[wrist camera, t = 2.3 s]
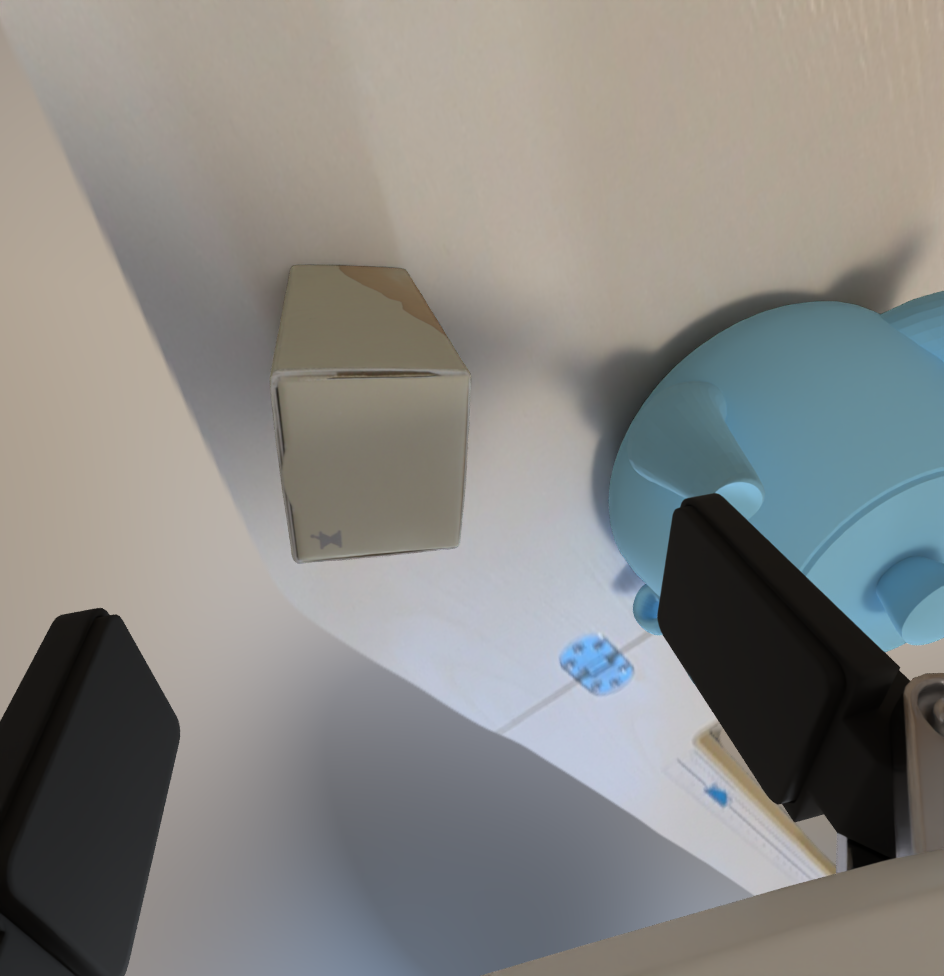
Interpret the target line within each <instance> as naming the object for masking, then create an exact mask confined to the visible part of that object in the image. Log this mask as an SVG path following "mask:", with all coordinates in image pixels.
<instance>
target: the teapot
mask: <svg viewBox="0 0 944 976" xmlns="http://www.w3.org/2000/svg"><path fill="white" fill-rule="evenodd" d="M712 493H717V494H720V495H721V496H723V497H724V498H725V499H726V500H727V501H728V502H729V503H730V504H731V505H732V506H733V507H734V508H735V509H736V510H737V511H738V512H739V513H741V514H742V515H743V516H744V517H745V518H746V519H747V520H748V521H749V522H750V523H751V524H752V525H753V526H754V527H755V528H756V529H757V530H758V531H759V532H760V533H761V534H762V535H763V536H764V537H765V538H766V539H768V540H769V541H770V542H771V543H772V544H773V545H774V546H775V547H776V548H777V549H778V550H779V551H780V552H781V553H782V554H783V555H784V556H785V557H786V558H787V559H788V560H789V561H790V562H791V563H792V564H793V565H795V566H796V567H797V568H798V569H799V570H800V571H801V572H802V573H803V574H804V575H805V576H806V577H807V578H808V579H809V580H810V581H811V582H812V583H813V584H814V585H815V586H816V587H817V588H818V589H819V590H820V591H822V592H823V593H824V594H825V595H826V596H827V597H828V598H829V599H830V600H831V601H832V602H833V603H834V604H835V605H836V606H837V607H838V608H839V609H840V610H841V611H842V612H843V613H844V614H845V615H846V616H847V617H849V618H850V619H851V620H852V621H853V622H854V623H855V624H856V625H857V626H858V627H859V628H860V629H861V630H862V631H863V632H864V633H865V634H866V635H867V636H868V637H869V638H870V639H871V640H872V641H873V642H874V643H876V644H877V645H878V646H879V647H880V648H881V649H882V650H883V651H884V652H887V651H890V650H892V649H894V648H897V647H899V646H901V645H903V644H905V643H908V644H911V645H924V644H929V643H932V642H935V641H938V640H940V639H942V638H944V291H941V292H937V293H934V294H930V295H927V296H923V297H920V298H916V299H913V300H911V301H908V302H906V303H904V304H902V305H900V306H898V307H895V308H893V309H891V310H889V311H887V312H885V313H882V314H879V313H877V312H874V311H872V310H869V309H866V308H864V307H861V306H859V305H855V304H849V303H844V302H838V301H815V302H805V303H798V304H792V305H785V306H781V307H778V308H774V309H771V310H767V311H764V312H761V313H759V314H756V315H754V316H752V317H749V318H747V319H744V320H742V321H740V322H738V323H736V324H734V325H733V326H731V327H729V328H727V329H725V330H724V331H722V332H720V333H718V334H717V335H715V336H714V337H712V338H711V339H709V340H708V341H706V342H705V343H704V344H702V345H701V346H699V347H698V348H696V349H695V350H694V351H693V352H691V353H690V354H689V355H688V356H687V357H686V358H684V359H683V360H682V361H681V362H680V363H678V364H677V365H676V366H675V367H674V368H673V369H672V370H671V371H670V372H669V373H668V374H667V376H666V377H665V378H664V379H663V380H662V381H661V382H660V383H659V384H658V385H657V387H656V388H655V389H654V390H653V392H652V393H651V394H650V395H649V397H648V398H647V399H646V401H645V402H644V404H643V405H642V407H641V408H640V410H639V411H638V413H637V415H636V416H635V418H634V419H633V421H632V423H631V425H630V427H629V429H628V431H627V433H626V435H625V437H624V439H623V441H622V443H621V446H620V449H619V451H618V454H617V457H616V460H615V463H614V466H613V470H612V475H611V480H610V486H609V499H608V503H609V516H610V524H611V528H612V532H613V536H614V540H615V542H616V544H617V546H618V549H619V551H620V553H621V554H622V556H623V557H624V558H625V560H626V561H627V563H628V564H629V565H630V567H631V568H632V569H633V571H634V572H635V573H636V574H637V576H638V577H639V578H640V579H641V580H642V581H644V582H645V583H646V584H645V585H644V586H642V588H641V589H640V590H639V591H638V593H637V595H636V597H635V600H634V604H633V613H634V617H635V619H636V621H637V622H638V623H639V625H640V626H641V627H642V628H643V629H645V630H646V631H647V632H649V633H651V634H654V635H663V634H662V633H661V630H660V628H659V624H658V619H657V614H658V607H659V600H660V594H661V587H662V581H663V574H664V568H665V561H666V554H667V548H668V541H669V535H670V528H671V522H672V515H673V512H674V510H675V509H677V508H680V506H681V503H682V501H683V500H684V499H686V498H690V497H696V496H701V495H706V494H712ZM687 674H688V673H687ZM689 677H690V676H689ZM690 679H691V678H690ZM691 680H692V679H691ZM692 682H693V681H692ZM693 683H694V682H693ZM695 686H696V685H695Z"/></svg>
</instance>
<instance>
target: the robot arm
mask: <svg viewBox="0 0 944 976" xmlns="http://www.w3.org/2000/svg"><path fill="white" fill-rule="evenodd" d="M657 619H658V624H659V628H660V630H661V633H662V634H663V636H664V638H665V639H666V641H667V642H668V644H669V645H670V647H671V648H672V650H673V651H674V653H675V655H676V656H677V658H678V659H679V661H680V662H681V664H682V665H683V667H684V668H685V670H686V672H687V673H688V675H689V676H690V678H691V679H692V681H693V682H694V684H695V685H696V687H697V688H698V690H699V692H700V693H701V695H702V696H703V698H704V699H705V701H706V702H707V704H708V705H709V707H710V709H711V710H712V712H713V713H714V715H715V716H716V718H717V719H718V721H719V722H720V724H721V725H722V727H723V729H724V730H725V732H726V733H727V735H728V736H729V738H730V739H731V741H732V742H733V744H734V745H735V747H736V749H737V750H738V752H739V753H740V755H741V756H742V758H743V759H744V761H745V762H746V764H747V765H748V767H749V769H750V770H751V772H752V773H753V775H754V776H755V778H756V779H757V781H758V782H759V784H760V786H761V787H762V789H763V790H764V792H765V793H766V795H767V796H768V797H769V798H770V799H771V800H772V801H773V802H774V803H776V804H782V805H783V806H784V808H785V809H786V811H787V812H788V814H789V815H790V817H791V818H792V820H793V821H794V822H798V821H801V820H805V819H809V818H812V817H816V816H819V815H823V814H824V815H825V816H826V818H827V819H828V820H829V822H830V823H831V824H832V826H833V827H834V829H835V830H836V832H837V860H836V874H833V875H829V876H826V877H822V878H818V879H814V880H811V881H807V882H803V883H799V884H796V885H792V886H788V887H784V888H781V889H777V890H774V891H770V892H767V893H764V894H760V895H757V896H753V897H750V898H746V899H743V900H740V901H736V902H732V903H729V904H726V905H722V906H718V907H715V908H712V909H708V910H705V911H701V912H698V913H694V914H691V915H687V916H684V917H680V918H677V919H673V920H670V921H666V922H663V923H659V924H656V925H652V926H649V927H646V928H642V929H639V930H635V931H632V932H628V933H625V934H621V935H618V936H614V937H611V938H608V939H604V940H601V941H597V942H594V943H590V944H587V945H584V946H580V947H577V948H574V949H570V950H567V951H563V952H560V953H556V954H553V955H550V956H546V957H543V958H539V959H536V960H533V961H529V962H526V963H522V964H519V965H515V966H512V967H509V968H505V969H502V970H498V971H495V972H492V973H488V974H485V975H482V976H944V673H929V674H928V673H927V674H923V675H921V676H918V677H915V678H913V679H912V680H911V681H910V680H909V679H907V677H906V676H905V675H903V674H902V673H901V672H900V671H899V669H900V667H899V666H898V665H897V664H896V663H895V662H894V661H893V660H892V659H891V658H890V657H889V656H888V655H887V654H886V653H885V652H884V651H883V650H882V649H881V648H880V647H879V646H878V645H877V644H876V643H874V642H873V641H872V640H871V639H870V638H869V637H868V636H867V635H866V634H865V633H864V632H863V631H862V630H861V629H860V628H859V627H858V626H857V625H856V624H855V623H854V622H853V621H852V620H851V619H850V618H849V617H847V616H846V615H845V614H844V613H843V612H842V611H841V610H840V609H839V608H838V607H837V606H836V605H835V604H834V603H833V602H832V601H831V600H830V599H829V598H828V597H827V596H826V595H825V594H824V593H823V592H822V591H820V590H819V589H818V588H817V587H816V586H815V585H814V584H813V583H812V582H811V581H810V580H809V579H808V578H807V577H806V576H805V575H804V574H803V573H802V572H801V571H800V570H799V569H798V568H797V567H796V566H795V565H793V564H792V563H791V562H790V561H789V560H788V559H787V558H786V557H785V556H784V555H783V554H782V553H781V552H780V551H779V550H778V549H777V548H776V547H775V546H774V545H773V544H772V543H771V542H770V541H769V540H768V539H766V538H765V537H764V536H763V535H762V534H761V533H760V532H759V531H758V530H757V529H756V528H755V527H754V526H753V525H752V524H751V523H750V522H749V521H748V520H747V519H746V518H745V517H744V516H743V515H742V514H741V513H739V512H738V511H737V510H736V509H735V508H734V507H733V506H732V505H731V504H730V503H729V502H728V501H727V500H726V499H725V498H724V497H723V496H721V495H720V494H717V493H712V494H706V495H701V496H696V497H690V498H686V499H684V500H683V501H682V503H681V506H680V508H677V509H675V510H674V512H673V515H672V522H671V528H670V535H669V541H668V548H667V554H666V561H665V568H664V574H663V581H662V587H661V594H660V600H659V607H658V614H657ZM179 740H180V726H179V721H178V719H177V716H176V715H175V713H174V711H173V709H172V708H171V706H170V704H169V702H168V700H167V698H166V697H165V695H164V693H163V691H162V690H161V688H160V686H159V684H158V682H157V681H156V679H155V677H154V675H153V674H152V672H151V670H150V668H149V666H148V665H147V663H146V661H145V659H144V658H143V656H142V654H141V652H140V651H139V649H138V647H137V645H136V643H135V642H134V640H133V638H132V636H131V634H130V633H129V631H128V629H127V627H126V625H125V624H124V622H123V620H122V619H121V617H120V616H118V615H109V614H108V612H107V611H106V610H104V609H103V608H96V609H90V610H85V611H80V612H74V613H69V614H64V615H60V616H58V617H57V618H56V619H55V620H54V621H53V623H52V625H51V626H50V629H49V630H48V632H47V634H46V636H45V638H44V640H43V642H42V643H41V645H40V647H39V649H38V651H37V653H36V655H35V657H34V659H33V661H32V662H31V664H30V666H29V668H28V670H27V672H26V674H25V676H24V678H23V680H22V681H21V683H20V685H19V687H18V689H17V691H16V693H15V694H14V696H13V698H12V700H11V702H10V704H9V706H8V708H7V710H6V712H5V713H4V715H3V717H2V719H1V721H0V976H124V975H125V973H126V971H127V967H128V964H129V960H130V955H131V951H132V946H133V942H134V938H135V933H136V929H137V924H138V920H139V916H140V911H141V907H142V902H143V898H144V894H145V890H146V885H147V880H148V876H149V872H150V867H151V863H152V859H153V855H154V850H155V846H156V841H157V837H158V832H159V828H160V824H161V819H162V815H163V811H164V806H165V802H166V798H167V793H168V789H169V784H170V780H171V775H172V771H173V767H174V762H175V758H176V753H177V749H178V745H179Z"/></svg>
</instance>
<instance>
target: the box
mask: <svg viewBox="0 0 944 976" xmlns="http://www.w3.org/2000/svg"><path fill="white" fill-rule="evenodd" d="M470 387H471V375H470V372H469V370H468V369H467V367H466V366H465V364H464V363H463V361H462V360H461V358H460V357H459V355H458V353H457V352H456V350H455V349H454V347H453V345H452V343H451V342H450V340H449V339H448V337H447V335H446V334H445V332H444V330H443V329H442V327H441V326H440V324H439V322H438V321H437V319H436V317H435V316H434V314H433V312H432V311H431V309H430V308H429V306H428V305H427V303H426V301H425V299H424V298H423V296H422V294H421V293H420V291H419V290H418V288H417V287H416V285H415V284H414V282H413V280H412V279H411V277H410V275H409V274H408V272H407V271H406V270H405V269H401V268H385V267H367V266H338V265H294V266H292V268H291V270H290V273H289V279H288V284H287V289H286V294H285V299H284V304H283V310H282V315H281V321H280V326H279V332H278V336H277V342H276V347H275V352H274V357H273V363H272V369H271V376H270V391H271V400H272V410H273V420H274V429H275V437H276V445H277V453H278V460H279V468H280V476H281V484H282V491H283V498H284V505H285V511H286V518H287V524H288V531H289V538H290V544H291V552H292V557H293V560H294V561H295V562H296V563H297V564H303V563H311V562H323V561H336V560H349V559H360V558H370V557H381V556H391V555H400V554H410V553H418V552H426V551H436V550H448V549H453V548H457V547H458V546H459V543H460V537H461V527H462V517H463V508H464V497H465V485H466V470H467V455H468V434H469V416H470Z"/></svg>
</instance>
